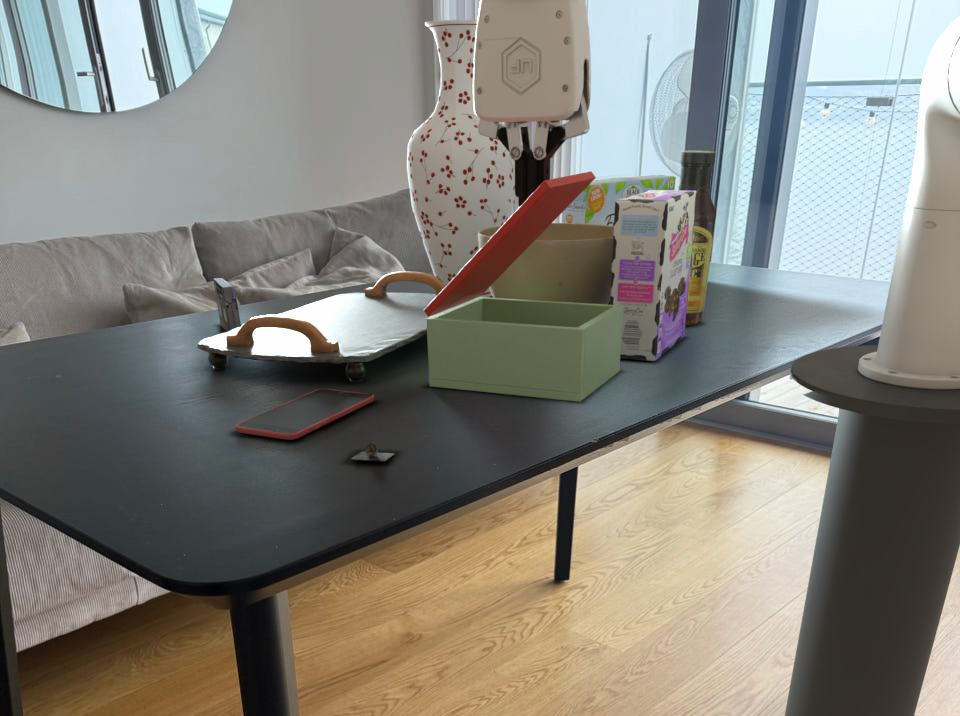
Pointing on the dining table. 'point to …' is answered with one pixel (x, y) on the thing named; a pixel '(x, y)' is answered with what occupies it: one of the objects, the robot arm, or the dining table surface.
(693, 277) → the sauce bottle
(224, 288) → the mini dv tape
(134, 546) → the dining table surface
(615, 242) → the candy box
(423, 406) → the dining table surface
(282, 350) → the serving tray
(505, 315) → the open storage box
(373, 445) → the square plate with knob
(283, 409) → the smartphone
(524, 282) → the flower pot
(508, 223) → the lid
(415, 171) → the vase
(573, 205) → the snack box
